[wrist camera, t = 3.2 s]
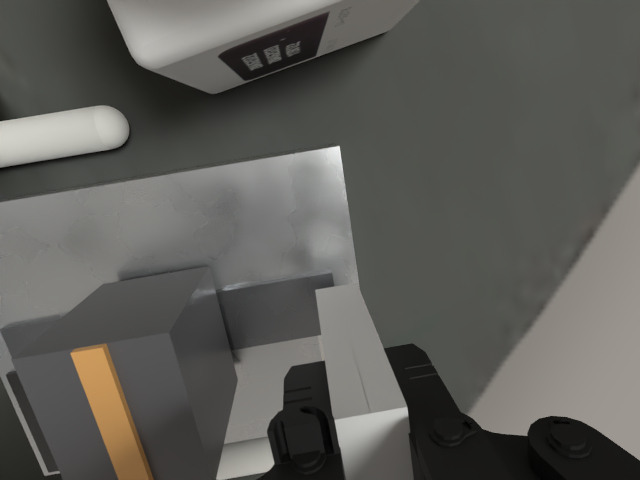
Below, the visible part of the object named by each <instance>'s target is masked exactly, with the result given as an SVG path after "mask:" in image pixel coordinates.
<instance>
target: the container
mask: <svg viewBox="0 0 640 480" xmlns="http://www.w3.org/2000/svg"><path fill="white" fill-rule="evenodd" d="M419 1H420V0H107V2H108V4H109V7H110V9H111V11H112V13H113V16H114V18H115V20H116V22H117V25H118V27H119V29H120V31H121V34H122V36H123V38H124V41H125V43H126V45H127V47H128V50H129V52H130V54H131V56H132V57H133V59H134V60H135V61H136V63H137V64H138V65H140V66H142V67H144V68H146V69H148V70H150V71H153V72H156V73H158V74H161V75H163V76H166V77H168V78H171V79H174V80H176V81H179V82H181V83H184V84H186V85H189V86H192V87H194V88H197V89H199V90H202V91H204V92H207V93H210V94H217V93H220V92H223V91H225V90H228V89H231V88H234V87H236V86H239V85H242V84H245V83H247V82H250V81H253V80H256V79H258V78H261V77H264V76H267V75H269V74H272V73H275V72H277V71H280V70H283V69H286V68H288V67H291V66H294V65H297V64H299V63H302V62H305V61H308V60H310V59H313V58H316V57H319V56H321V55H324V54H327V53H330V52H332V51H335V50H338V49H341V48H343V47H346V46H349V45H352V44H354V43H357V42H360V41H363V40H365V39H368V38H371V37H374V36H376V35H379V34H382V33H385V32H387V31H389V30H390V29H392V28H393V27H394V26H395V25H396V24H397V23H398V22H399V21H400V20H401V19H402V18H403V17H404V16H405V15H406V14H407V13H408V12H409V11H410V10H411V9H412V8H413V7H414V6H415V5H416V4H417V3H418V2H419Z"/></svg>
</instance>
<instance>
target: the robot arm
mask: <svg viewBox="0 0 640 480" xmlns="http://www.w3.org/2000/svg"><path fill="white" fill-rule="evenodd" d="M315 292H316V299H317V307H318V314H319V321H320V328H321V336H322V343H323V350H324V357H325V360H324V361H318V362H312V363H307V364H301V365H296V366H291V368H290V369H289V371H288V373H287V374H286V376H285V378H284V391H283V392H284V394H283V410H281V411H280V412H278V413H277V414H276V415H275V416H274V418H273V419H272V420H271V421H270V423H269V426H268V429H267V434H268V438H269V443H270V447H271V451H272V455H273V459H274V465H273V467H272V468H271V469H270V470H269V471H268V472H267V473H266V474H264V475H263V476H262V477H260V478H259V479H257V480H640V461H639V460H638V459H637V458H635V457H634V456H632V455H631V454H630V453H628V452H627V451H625V450H624V449H623V448H621V447H620V446H618V445H617V444H615V443H614V442H613V441H611V440H610V439H609V438H607V437H606V436H604V435H603V434H602V433H600V432H599V431H597V430H596V429H594V428H592V427H590V426H588V425H587V424H585V423H583V422H581V421H578V420H574V419H571V418H567V417H557V416H550V417H545V418H541V419H538V420H537V421H535V422H534V423H533V424H531V426H530V428H529V431H528V436H519V435H506V434H499V433H492V432H489V431H486V430H483V429H482V428H481V427H480V426H479V425H478V424H477V423H476V422H475V421H474V420H473V419H472V418H471V417H469V416H467V415H465V414H463V413H461V412H460V410H459V409H458V407H457V405H456V404H455V402H454V400H453V398H452V397H451V395H450V393H449V392H448V390H447V388H446V386H445V385H444V383H443V381H442V380H441V378H440V376H438V373H437V371H436V369H435V368H434V366H432V363H431V361H430V359H429V358H428V356H427V354H426V352H424V351H423V350H421V349H420V348H418V347H417V346H415V345H414V344H407V345H401V346H395V347H390V348H383V346H382V344H381V341H380V339H379V336H378V334H377V331H376V329H375V326H374V324H373V322H372V319H371V317H370V314H369V312H368V309H367V307H366V304H365V302H364V300H363V297H362V295H361V292H360V290H359V287H358V285H357V283H352V284H346V285H340V286H335V287H329V288H323V289H317V290H315Z"/></svg>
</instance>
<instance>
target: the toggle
mask: <svg viewBox="0 0 640 480" xmlns="http://www.w3.org/2000/svg"><path fill="white" fill-rule="evenodd" d="M11 361H12V363H13V365H14V368H15V370H16V372H17V375H18V377H19V379H20V381H21V384H22V386H23V388H24V391H25V393H26V395H27V398H28V400H29V402H30V405H31V407H32V409H33V412H34V414H35V416H36V419H37V421H38V423H39V426H40V428H41V430H42V432H43V435H44V437H45V439H46V442H47V444H48V446H49V449H50V451H51V453H52V456H53V458H54V460H55V463H56V465H57V467H58V470H59V472H60V474H61V476H62V479H63V480H216V477H217V472H218V468H219V463H220V459H221V454H222V450H223V445H224V441H225V436H226V432H227V427H228V423H229V418H230V414H231V409H232V405H233V400H234V396H235V391H236V387H237V382H238V378H237V374H236V370H235V366H234V362H233V358H232V354H231V350H230V346H229V342H228V338H227V334H226V330H225V326H224V322H223V318H222V314H221V310H220V306H219V303H218V299H217V295H216V291H215V287H214V283H213V279H212V275H211V271H210V267H209V266H207V267H201V268H195V269H189V270H183V271H177V272H171V273H165V274H160V275H154V276H148V277H142V278H136V279H130V280H124V281H118V282H113V283H107V284H102V285H101V286H100V287H99V288H97V289H96V290H95V291H94V292H93V293H91V294H90V295H89V296H88V297H87V298H85V299H84V300H83V301H82V302H80V303H79V304H78V305H77V306H76V307H74V308H73V309H72V310H71V311H70V312H68V313H67V314H66V315H65V316H63V317H62V318H61V319H60V320H59V321H57V322H56V323H55V324H54V325H53V326H51V327H50V328H49V329H48V330H47V331H45V332H44V333H43V334H42V335H40V336H39V337H38V338H37V339H36V340H34V341H33V342H32V343H31V344H30V345H28V346H27V347H26V348H25V349H23V350H22V351H21V352H20V353H19V354H17V355H16V356H15V357H14V358H13V359H11Z"/></svg>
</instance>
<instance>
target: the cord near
mask: <svg viewBox="0 0 640 480" xmlns="http://www.w3.org/2000/svg"><path fill="white" fill-rule="evenodd" d="M128 136H129V124H128V121H127V119H126V118H125V116H124V115H123V114H122V113H121V112H120V111H118V110H117V109H115V108H113V107H110V106H105V105H100V106H93V107H86V108H80V109H74V110H68V111H62V112H56V113H50V114H43V115H37V116H31V117H25V118H19V119H13V120H7V121H1V122H0V168H1V167H7V166H13V165H19V164H25V163H31V162H38V161H44V160H50V159H56V158H62V157H68V156H74V155H80V154H86V153H92V152H98V151H104V150H110V149H115V148H118V147H120V146H122V145H123V144H124V143H125V142H126V140H127V139H128Z"/></svg>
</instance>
